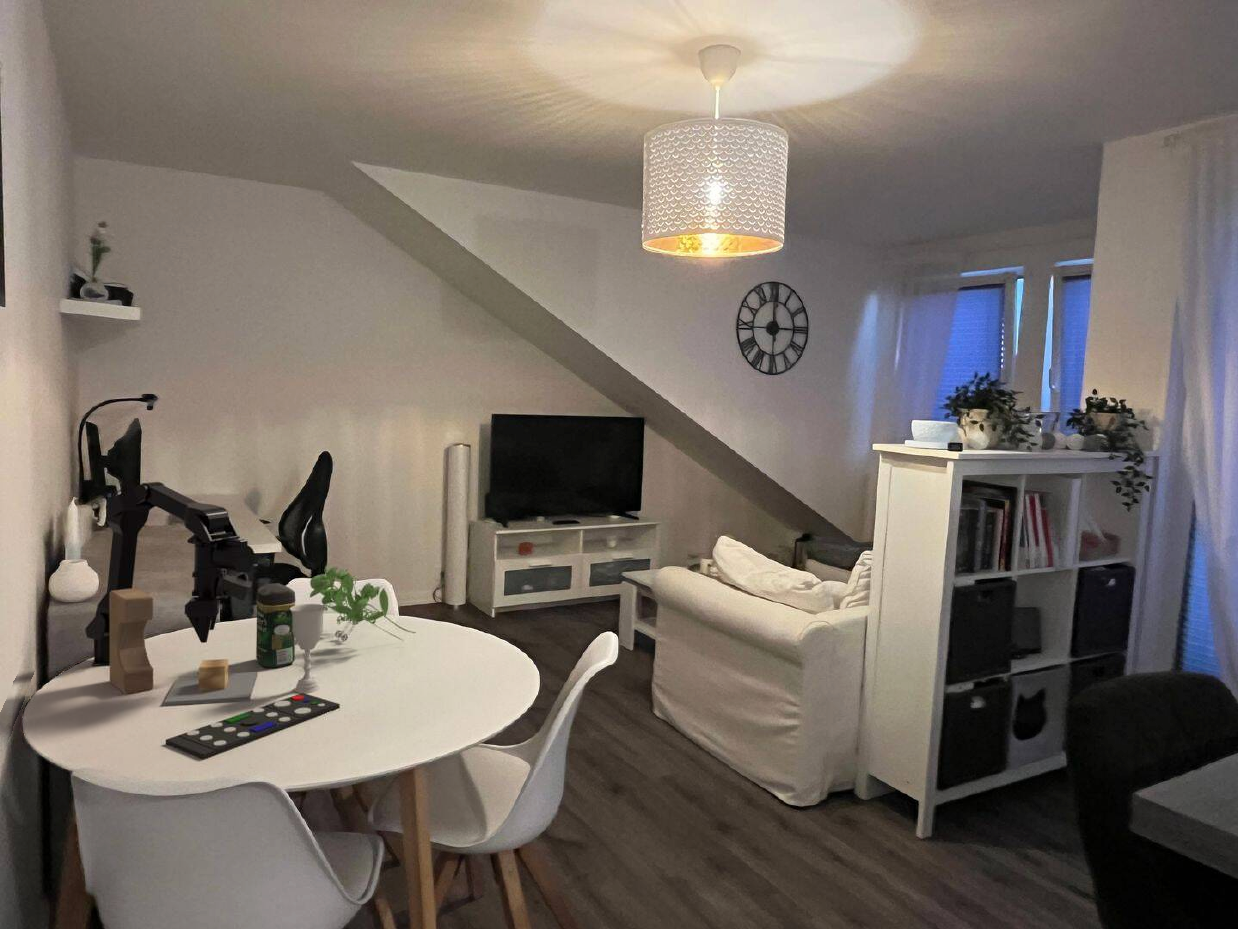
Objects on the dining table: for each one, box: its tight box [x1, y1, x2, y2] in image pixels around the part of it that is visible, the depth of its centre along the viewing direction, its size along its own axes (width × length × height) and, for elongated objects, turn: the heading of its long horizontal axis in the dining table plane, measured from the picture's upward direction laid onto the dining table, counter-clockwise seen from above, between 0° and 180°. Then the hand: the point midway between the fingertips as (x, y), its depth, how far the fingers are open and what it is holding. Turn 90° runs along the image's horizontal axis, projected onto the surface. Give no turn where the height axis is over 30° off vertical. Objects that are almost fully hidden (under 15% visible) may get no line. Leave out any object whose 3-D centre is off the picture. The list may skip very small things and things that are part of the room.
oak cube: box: [198, 658, 229, 691], centre depth 182 cm, size 5×5×5 cm
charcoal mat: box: [163, 671, 258, 707], centre depth 182 cm, size 16×16×1 cm
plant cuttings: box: [309, 565, 417, 643], centre depth 222 cm, size 35×17×22 cm
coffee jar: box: [255, 582, 296, 668], centre depth 200 cm, size 10×8×19 cm
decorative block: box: [109, 587, 154, 695], centre depth 181 cm, size 11×6×20 cm, turn 45°
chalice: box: [290, 603, 327, 694], centre depth 184 cm, size 7×7×18 cm
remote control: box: [165, 693, 341, 760], centre depth 164 cm, size 11×30×2 cm, turn 150°
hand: (207, 636), depth 184 cm, fingers open, 9 cm apart
